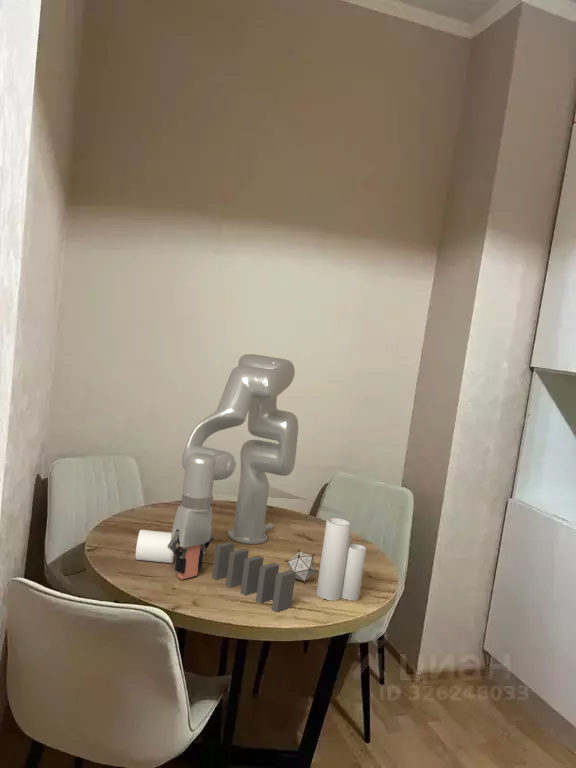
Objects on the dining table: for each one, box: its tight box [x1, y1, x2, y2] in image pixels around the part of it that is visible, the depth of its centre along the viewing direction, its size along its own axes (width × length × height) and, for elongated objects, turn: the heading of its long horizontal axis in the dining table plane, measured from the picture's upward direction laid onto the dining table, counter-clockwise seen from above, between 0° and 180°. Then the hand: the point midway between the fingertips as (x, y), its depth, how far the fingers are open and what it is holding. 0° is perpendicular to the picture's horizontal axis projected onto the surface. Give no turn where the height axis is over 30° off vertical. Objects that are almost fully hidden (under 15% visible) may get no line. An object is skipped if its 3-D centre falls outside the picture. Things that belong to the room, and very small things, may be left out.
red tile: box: [177, 545, 200, 580], centre depth 167 cm, size 5×2×9 cm, turn 138°
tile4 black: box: [239, 555, 264, 596], centre depth 164 cm, size 5×2×9 cm, turn 138°
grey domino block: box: [271, 570, 296, 613], centre depth 157 cm, size 5×2×9 cm, turn 138°
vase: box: [315, 517, 367, 601], centre depth 169 cm, size 11×7×20 cm, turn 107°
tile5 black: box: [255, 562, 280, 605], centre depth 160 cm, size 5×2×9 cm, turn 138°
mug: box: [134, 529, 175, 564], centre depth 179 cm, size 12×10×8 cm
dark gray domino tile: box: [225, 548, 250, 589], centre depth 167 cm, size 5×2×9 cm, turn 138°
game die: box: [284, 547, 319, 585], centre depth 176 cm, size 9×8×10 cm
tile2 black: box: [211, 541, 235, 581], centre depth 171 cm, size 5×2×9 cm, turn 138°
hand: (188, 568), depth 167 cm, fingers closed on red tile, 4 cm apart
